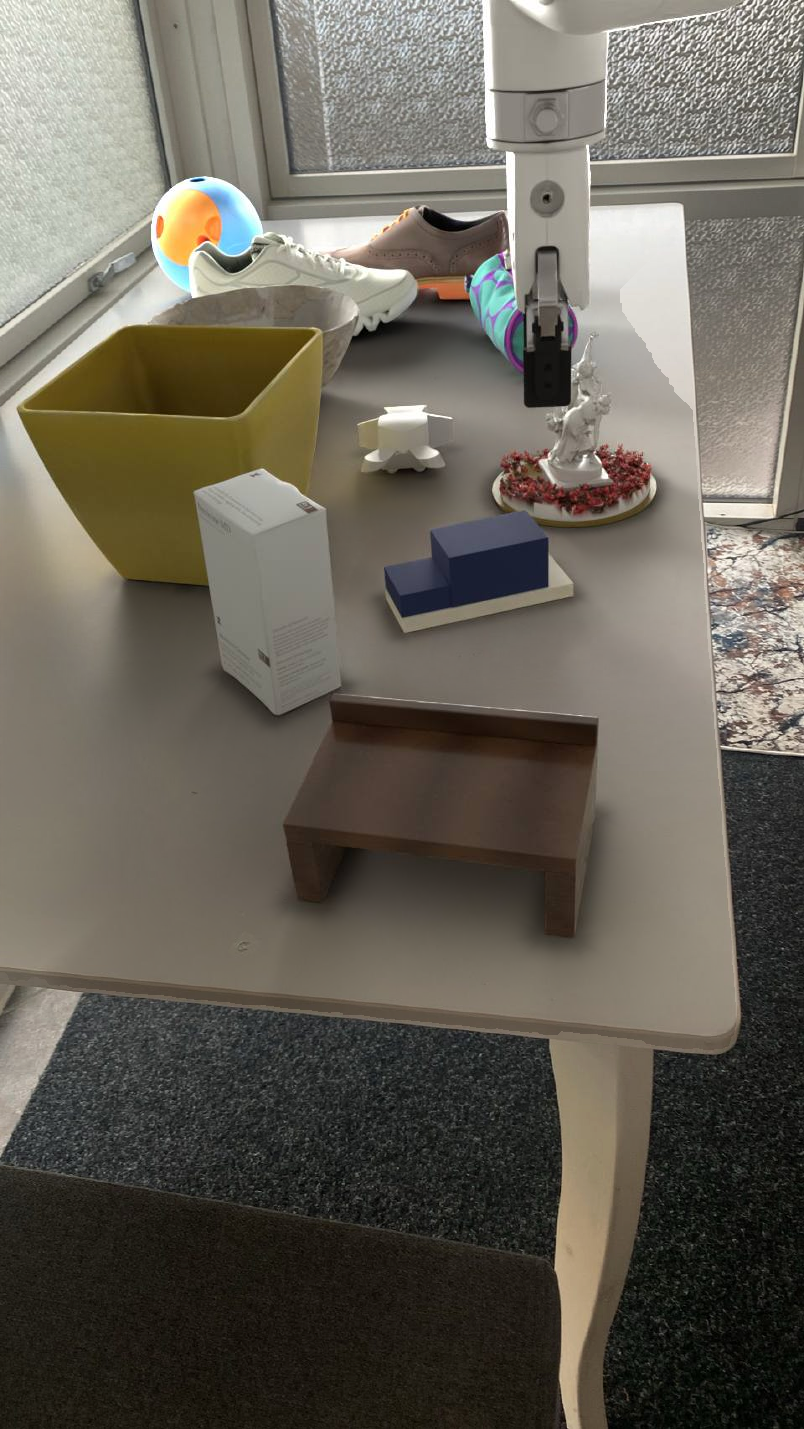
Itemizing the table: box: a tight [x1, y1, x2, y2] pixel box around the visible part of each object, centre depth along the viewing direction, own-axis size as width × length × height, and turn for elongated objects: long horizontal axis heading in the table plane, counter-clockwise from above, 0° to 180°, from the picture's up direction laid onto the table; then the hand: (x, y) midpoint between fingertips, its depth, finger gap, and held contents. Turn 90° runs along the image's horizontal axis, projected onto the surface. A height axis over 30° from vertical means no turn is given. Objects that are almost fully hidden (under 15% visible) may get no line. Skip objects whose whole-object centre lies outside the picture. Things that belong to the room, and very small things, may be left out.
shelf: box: [282, 693, 600, 938], centre depth 64 cm, size 16×10×8 cm, turn 76°
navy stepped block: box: [383, 510, 574, 634], centre depth 88 cm, size 14×5×6 cm, turn 106°
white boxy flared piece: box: [357, 404, 455, 474], centre depth 109 cm, size 10×5×15 cm
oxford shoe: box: [307, 204, 510, 301], centre depth 152 cm, size 11×31×11 cm, turn 79°
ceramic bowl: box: [146, 285, 359, 390], centre depth 123 cm, size 22×23×10 cm
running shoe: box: [189, 232, 420, 337], centre depth 141 cm, size 11×30×12 cm, turn 89°
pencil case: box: [464, 250, 579, 375], centre depth 131 cm, size 21×9×10 cm, turn 10°
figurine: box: [491, 331, 658, 528], centre depth 99 cm, size 15×15×14 cm
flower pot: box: [16, 323, 323, 587], centre depth 94 cm, size 19×19×17 cm
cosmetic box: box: [194, 469, 343, 716], centre depth 78 cm, size 8×6×15 cm
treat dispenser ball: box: [150, 176, 264, 294], centre depth 157 cm, size 16×15×15 cm
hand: (546, 379), depth 81 cm, fingers open, 9 cm apart
